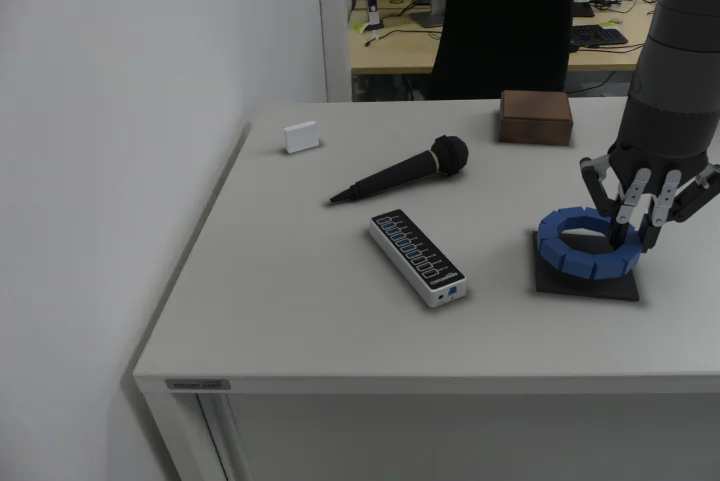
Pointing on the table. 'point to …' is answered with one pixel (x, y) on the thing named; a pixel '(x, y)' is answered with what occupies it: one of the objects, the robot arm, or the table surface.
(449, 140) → the microphone
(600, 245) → the mat
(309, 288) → the table surface
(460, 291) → the multiport hub
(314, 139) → the eraser
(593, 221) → the ring
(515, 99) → the platform
